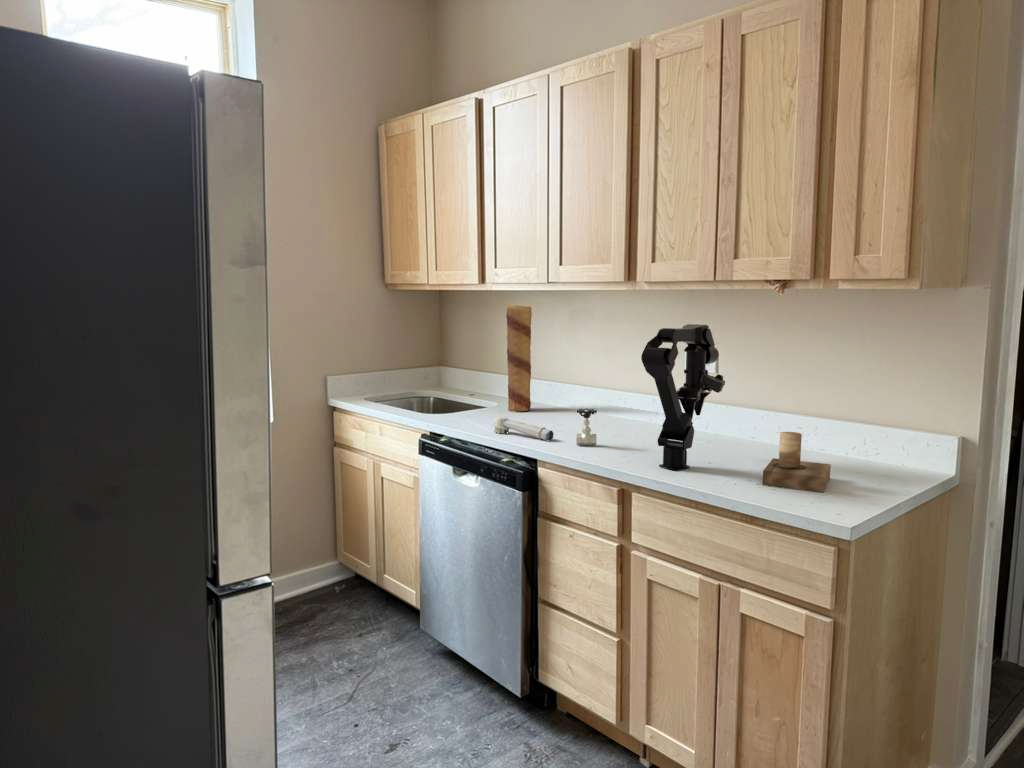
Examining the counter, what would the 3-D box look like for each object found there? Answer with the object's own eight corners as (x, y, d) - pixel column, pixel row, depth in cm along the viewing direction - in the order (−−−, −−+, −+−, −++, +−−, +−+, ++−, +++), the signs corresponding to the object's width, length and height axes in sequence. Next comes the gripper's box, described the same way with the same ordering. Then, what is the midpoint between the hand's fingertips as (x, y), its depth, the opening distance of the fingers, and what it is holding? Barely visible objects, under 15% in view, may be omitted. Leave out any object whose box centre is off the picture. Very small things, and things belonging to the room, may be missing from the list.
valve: (576, 443, 244) (576, 408, 243) (596, 443, 243) (596, 408, 242) (576, 447, 238) (576, 411, 236) (596, 447, 237) (596, 411, 235)
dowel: (791, 484, 191) (793, 436, 190) (773, 480, 196) (775, 433, 194) (803, 481, 194) (806, 434, 193) (786, 477, 199) (788, 431, 197)
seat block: (762, 485, 191) (763, 470, 190) (772, 472, 205) (773, 458, 204) (823, 492, 184) (824, 477, 183) (829, 478, 197) (830, 464, 197)
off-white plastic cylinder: (546, 431, 245) (491, 413, 261) (544, 450, 247) (490, 431, 262) (555, 429, 249) (501, 411, 265) (553, 447, 251) (499, 429, 266)
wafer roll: (510, 407, 318) (509, 305, 312) (533, 408, 315) (533, 305, 310) (503, 411, 308) (503, 305, 302) (527, 412, 305) (527, 305, 300)
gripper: (715, 370, 204) (713, 424, 206) (729, 364, 221) (728, 415, 223) (676, 368, 210) (675, 421, 212) (693, 363, 226) (692, 412, 228)
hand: (694, 417), depth 218 cm, fingers open, 9 cm apart
